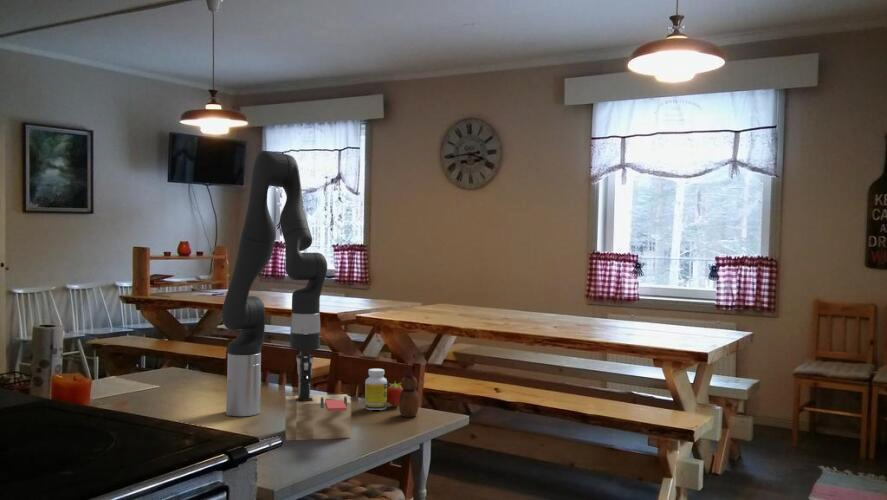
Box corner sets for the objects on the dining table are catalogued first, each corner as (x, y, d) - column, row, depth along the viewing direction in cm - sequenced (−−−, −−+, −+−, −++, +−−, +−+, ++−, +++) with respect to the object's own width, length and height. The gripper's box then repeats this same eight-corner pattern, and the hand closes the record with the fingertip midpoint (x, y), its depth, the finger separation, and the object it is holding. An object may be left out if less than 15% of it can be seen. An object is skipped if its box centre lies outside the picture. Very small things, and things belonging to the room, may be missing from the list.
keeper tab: (328, 411, 182) (328, 407, 182) (324, 402, 191) (324, 398, 191) (346, 411, 183) (346, 407, 183) (342, 402, 192) (342, 398, 192)
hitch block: (286, 442, 188) (287, 399, 188) (285, 430, 199) (285, 389, 199) (351, 439, 192) (352, 397, 192) (346, 427, 203) (347, 388, 203)
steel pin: (298, 411, 193) (298, 367, 193) (297, 408, 196) (298, 365, 196) (310, 411, 194) (311, 367, 194) (309, 408, 197) (310, 365, 197)
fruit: (396, 409, 226) (396, 382, 226) (382, 407, 228) (382, 380, 228) (406, 406, 230) (407, 379, 230) (392, 403, 233) (393, 377, 233)
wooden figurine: (398, 413, 221) (399, 361, 221) (418, 413, 222) (419, 361, 221) (398, 418, 215) (399, 365, 214) (419, 418, 215) (420, 365, 215)
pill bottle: (383, 412, 222) (384, 372, 222) (362, 410, 223) (362, 371, 223) (389, 407, 229) (390, 368, 228) (368, 405, 230) (369, 367, 230)
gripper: (289, 327, 201) (288, 392, 201) (291, 334, 187) (290, 404, 188) (318, 327, 203) (317, 391, 203) (322, 333, 189) (321, 403, 189)
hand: (304, 397), depth 195 cm, fingers open, 3 cm apart
